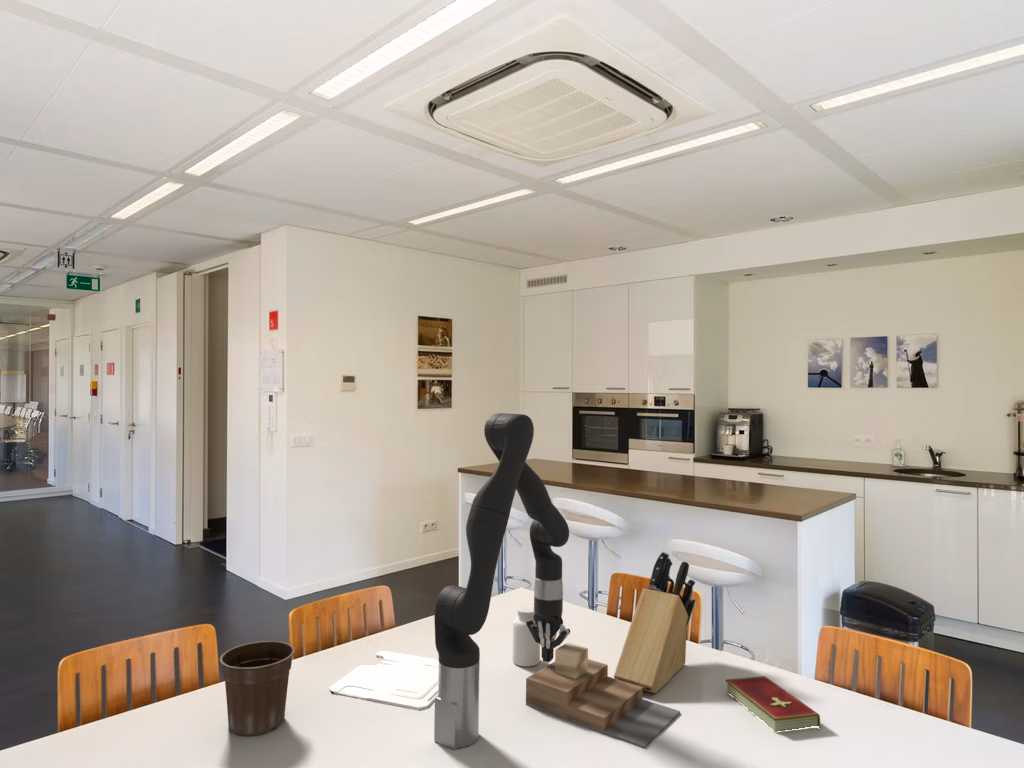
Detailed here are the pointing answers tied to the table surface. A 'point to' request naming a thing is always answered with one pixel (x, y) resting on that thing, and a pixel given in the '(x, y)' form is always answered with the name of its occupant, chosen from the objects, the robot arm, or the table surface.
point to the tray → (393, 681)
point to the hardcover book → (772, 703)
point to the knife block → (658, 629)
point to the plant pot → (256, 685)
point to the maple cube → (571, 660)
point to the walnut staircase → (599, 703)
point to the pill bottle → (524, 640)
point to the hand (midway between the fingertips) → (547, 660)
